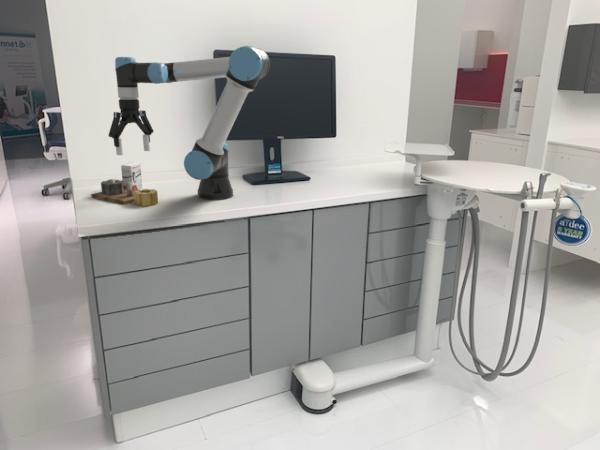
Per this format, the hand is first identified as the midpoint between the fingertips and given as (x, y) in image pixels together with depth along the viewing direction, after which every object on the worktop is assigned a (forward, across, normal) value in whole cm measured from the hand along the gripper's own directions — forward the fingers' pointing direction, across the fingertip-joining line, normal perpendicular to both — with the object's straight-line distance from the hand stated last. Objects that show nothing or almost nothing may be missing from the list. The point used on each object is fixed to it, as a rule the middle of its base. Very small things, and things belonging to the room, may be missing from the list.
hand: (133, 152), depth 194 cm
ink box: (+19, -9, -14) cm, 25 cm away
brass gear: (+19, +3, +9) cm, 21 cm away
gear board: (+19, +3, -7) cm, 20 cm away
